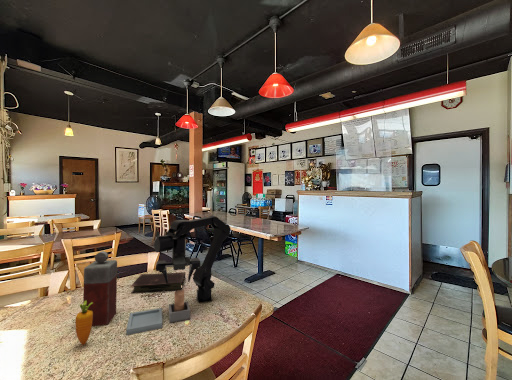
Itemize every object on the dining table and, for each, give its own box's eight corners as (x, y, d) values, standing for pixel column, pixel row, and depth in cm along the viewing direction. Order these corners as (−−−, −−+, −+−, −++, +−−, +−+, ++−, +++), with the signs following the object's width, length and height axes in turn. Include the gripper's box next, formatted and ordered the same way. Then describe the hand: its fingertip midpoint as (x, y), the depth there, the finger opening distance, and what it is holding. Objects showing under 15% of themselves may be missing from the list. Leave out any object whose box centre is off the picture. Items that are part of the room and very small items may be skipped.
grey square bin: (187, 310, 104) (187, 301, 104) (189, 319, 97) (190, 310, 97) (168, 313, 101) (168, 304, 101) (169, 323, 94) (169, 313, 94)
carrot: (81, 340, 83) (81, 298, 83) (95, 340, 83) (96, 298, 83) (71, 350, 78) (71, 305, 78) (86, 349, 78) (87, 304, 78)
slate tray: (161, 312, 102) (161, 307, 102) (162, 328, 91) (162, 322, 91) (129, 317, 97) (129, 313, 97) (126, 335, 86) (126, 329, 86)
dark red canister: (118, 310, 103) (119, 247, 103) (107, 324, 92) (109, 254, 92) (95, 312, 101) (97, 248, 101) (82, 327, 90) (83, 255, 90)
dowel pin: (183, 312, 102) (184, 289, 102) (184, 316, 98) (184, 293, 98) (173, 313, 100) (174, 290, 100) (174, 318, 97) (175, 294, 97)
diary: (141, 281, 137) (141, 273, 137) (185, 279, 142) (185, 271, 142) (130, 295, 119) (130, 285, 119) (181, 292, 124) (181, 282, 124)
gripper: (155, 254, 94) (154, 293, 94) (202, 251, 101) (201, 287, 101) (156, 248, 104) (155, 282, 104) (199, 245, 111) (198, 278, 111)
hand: (178, 283), depth 105 cm, fingers open, 9 cm apart
